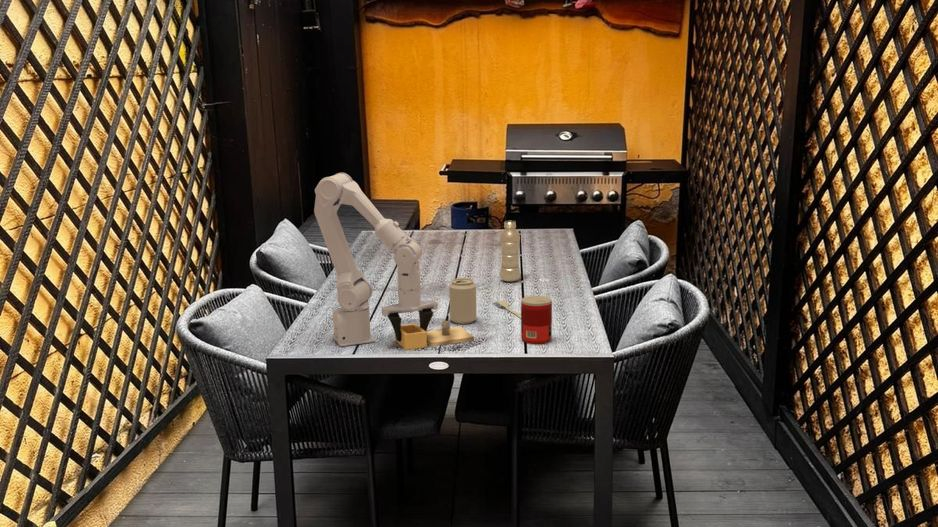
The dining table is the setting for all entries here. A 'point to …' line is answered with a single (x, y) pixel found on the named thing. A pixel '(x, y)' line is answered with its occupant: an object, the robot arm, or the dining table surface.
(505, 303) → the fork
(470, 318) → the can
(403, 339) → the link
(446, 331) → the wooden block with peg
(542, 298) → the canned food
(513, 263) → the plastic bottle
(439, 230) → the dining table surface
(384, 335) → the dining table surface
